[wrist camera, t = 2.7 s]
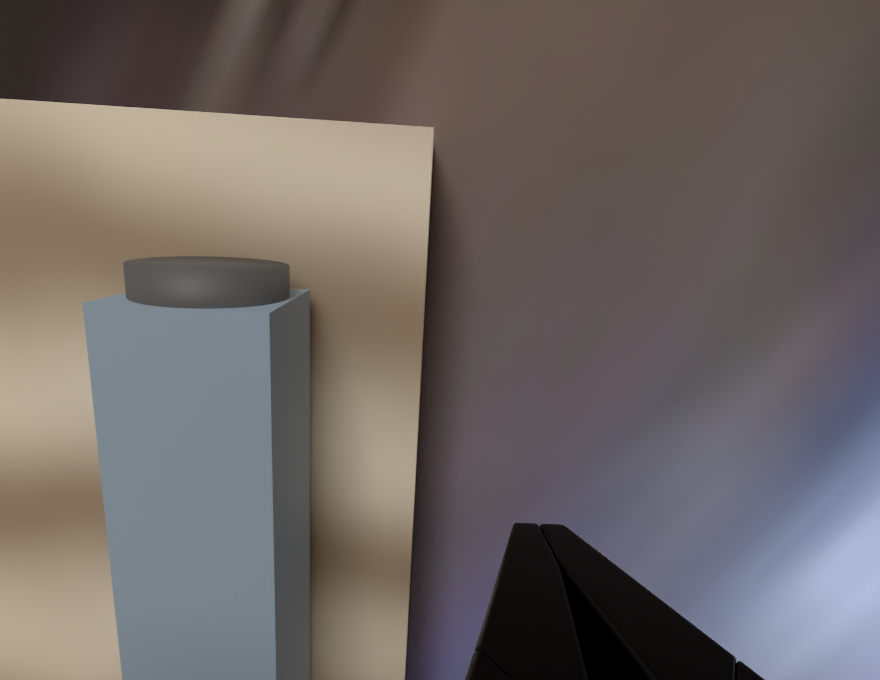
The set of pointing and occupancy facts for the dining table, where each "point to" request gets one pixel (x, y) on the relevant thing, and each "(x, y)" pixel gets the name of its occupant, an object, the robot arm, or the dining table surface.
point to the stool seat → (214, 235)
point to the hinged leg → (205, 466)
